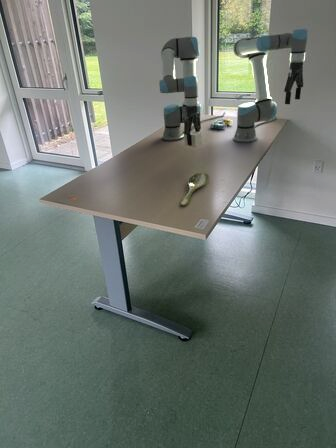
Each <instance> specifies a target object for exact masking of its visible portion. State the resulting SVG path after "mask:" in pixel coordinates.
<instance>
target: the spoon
mask: <svg viewBox="0 0 336 448" xmlns="http://www.w3.org/2000/svg"><path fill="white" fill-rule="evenodd" d="M209 180H210V176H209V174H208V173H206V172H203V171H200V172H199V171H198V172H195V173H194V174H192V175H191V176H189V178H188V180H187V185H188V187H189V188H188V189H189V190H188V192H187V193H186V195H185V196H184V197H183V198H182V200H181V202H180V206H183V207H185V206H187V205H188V203H189V201H190V199H191V197H192V195H193V193H194V191H196V190H197V189H199V188H201V187H203V186H205V185H206V184H207V183H208V182H209Z"/></svg>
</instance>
